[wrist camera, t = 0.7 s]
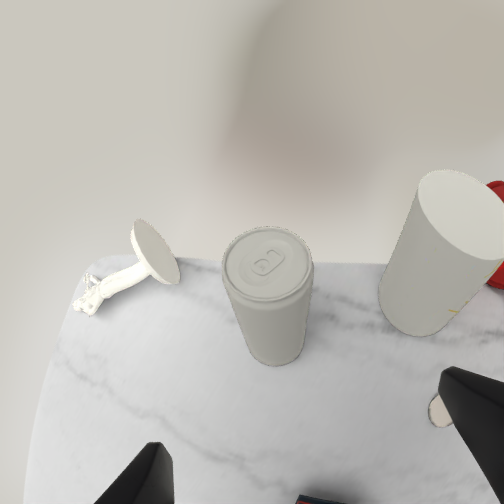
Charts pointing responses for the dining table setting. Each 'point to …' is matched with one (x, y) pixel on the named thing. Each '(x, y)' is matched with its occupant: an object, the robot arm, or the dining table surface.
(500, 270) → the headphones
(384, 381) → the dining table surface
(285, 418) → the dining table surface
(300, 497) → the toy car
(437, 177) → the cup
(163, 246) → the figurine
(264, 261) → the beverage can
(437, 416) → the ashtray
